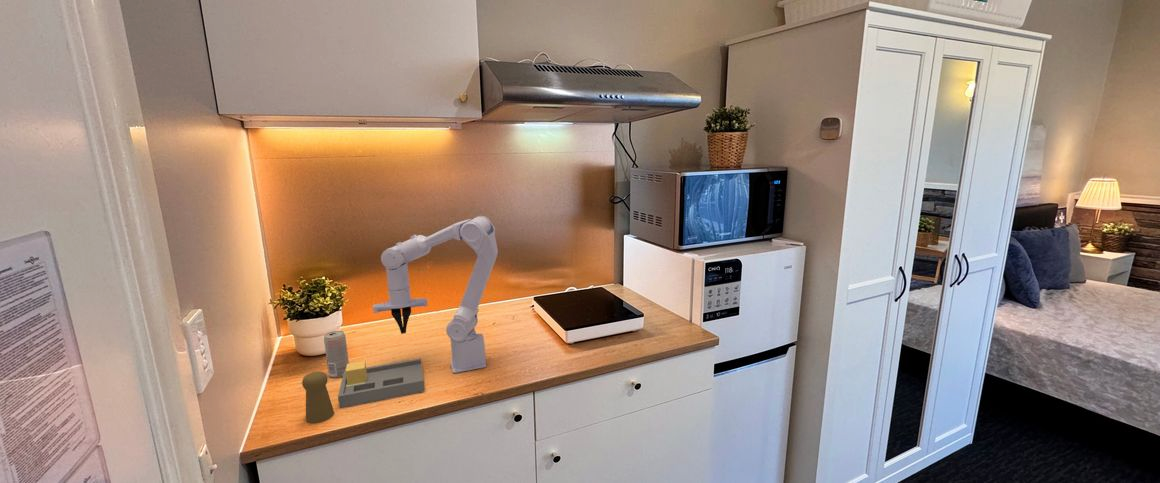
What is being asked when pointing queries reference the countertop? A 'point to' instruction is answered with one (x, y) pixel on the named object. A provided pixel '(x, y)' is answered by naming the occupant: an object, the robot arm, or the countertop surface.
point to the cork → (317, 398)
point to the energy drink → (336, 353)
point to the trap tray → (383, 383)
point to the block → (356, 373)
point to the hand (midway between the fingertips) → (403, 332)
